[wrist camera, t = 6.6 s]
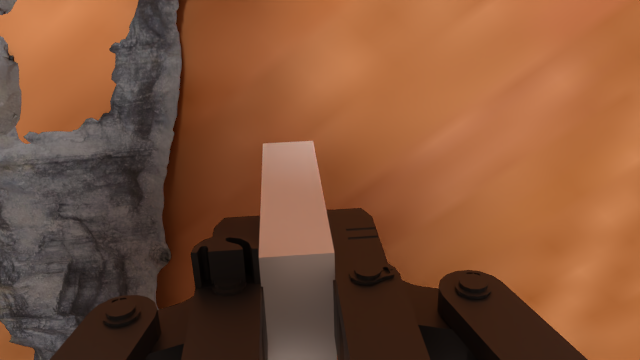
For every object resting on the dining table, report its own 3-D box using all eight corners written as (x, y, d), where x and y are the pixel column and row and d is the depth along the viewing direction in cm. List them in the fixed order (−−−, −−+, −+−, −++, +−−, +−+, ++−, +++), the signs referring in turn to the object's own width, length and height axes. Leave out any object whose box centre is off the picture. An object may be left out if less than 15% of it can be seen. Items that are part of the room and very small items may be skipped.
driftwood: (172, 418, 24) (164, 461, 22) (-7, 408, 23) (-33, 453, 21) (215, -170, 16) (208, -185, 14) (-53, -220, 15) (-101, -242, 13)
